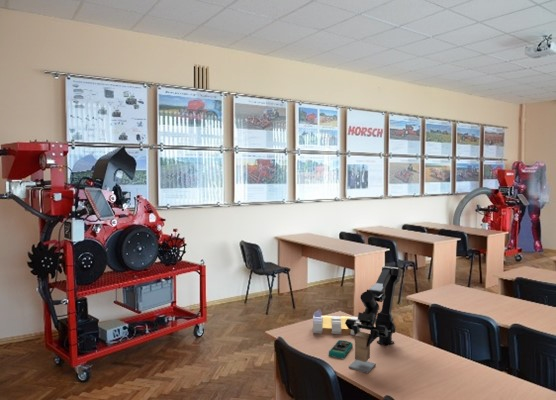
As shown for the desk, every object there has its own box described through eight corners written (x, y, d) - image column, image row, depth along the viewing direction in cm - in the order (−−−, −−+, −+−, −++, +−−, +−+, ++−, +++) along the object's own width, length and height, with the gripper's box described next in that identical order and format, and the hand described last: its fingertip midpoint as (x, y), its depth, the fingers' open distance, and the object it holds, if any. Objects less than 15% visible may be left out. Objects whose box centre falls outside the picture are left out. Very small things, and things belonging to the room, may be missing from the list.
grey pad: (356, 360, 194) (356, 358, 194) (375, 365, 189) (375, 363, 189) (348, 368, 186) (348, 366, 186) (368, 373, 181) (368, 371, 181)
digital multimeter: (353, 347, 209) (353, 341, 209) (343, 359, 195) (343, 353, 195) (338, 344, 213) (338, 338, 212) (328, 356, 199) (328, 350, 199)
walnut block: (359, 355, 191) (359, 331, 190) (369, 357, 188) (370, 333, 187) (354, 359, 187) (355, 335, 186) (365, 362, 184) (365, 337, 183)
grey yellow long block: (312, 334, 226) (312, 310, 225) (313, 327, 236) (313, 304, 235) (360, 336, 223) (360, 311, 222) (358, 328, 233) (358, 305, 232)
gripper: (346, 301, 194) (336, 332, 186) (386, 308, 184) (377, 341, 176) (353, 313, 201) (343, 343, 193) (392, 320, 191) (383, 353, 183)
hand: (361, 345), depth 186 cm, fingers closed on walnut block, 5 cm apart
